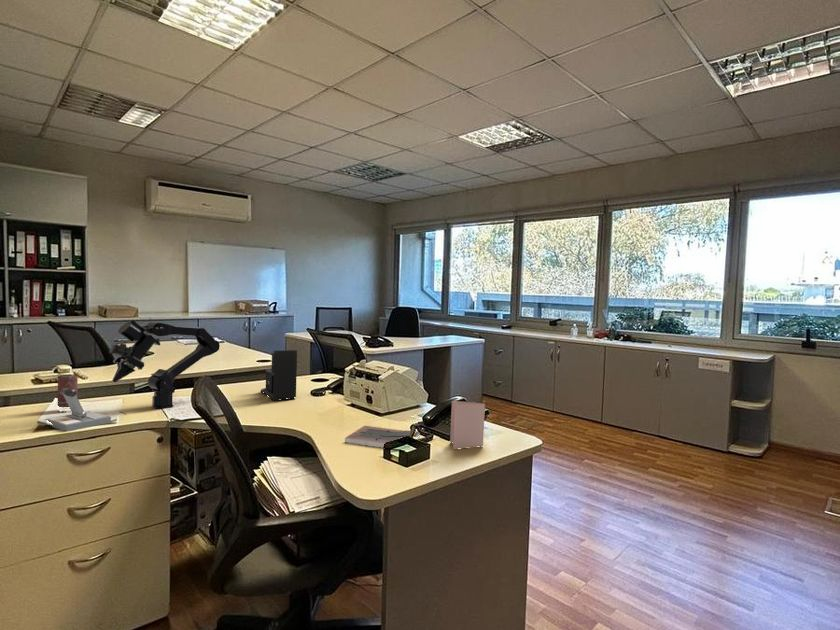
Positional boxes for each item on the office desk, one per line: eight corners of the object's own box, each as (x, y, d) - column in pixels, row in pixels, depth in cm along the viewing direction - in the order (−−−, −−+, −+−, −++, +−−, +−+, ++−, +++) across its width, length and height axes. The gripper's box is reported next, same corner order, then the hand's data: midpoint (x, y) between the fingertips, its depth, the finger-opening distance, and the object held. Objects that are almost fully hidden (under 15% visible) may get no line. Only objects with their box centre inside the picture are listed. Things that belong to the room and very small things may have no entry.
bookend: (260, 391, 227) (261, 345, 226) (281, 390, 233) (283, 344, 232) (273, 401, 208) (274, 350, 207) (296, 399, 213) (297, 350, 213)
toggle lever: (79, 413, 165) (66, 386, 161) (87, 415, 162) (74, 388, 158) (72, 416, 163) (59, 390, 159) (80, 419, 161) (67, 392, 156)
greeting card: (483, 446, 156) (485, 403, 156) (481, 453, 149) (483, 408, 148) (450, 442, 159) (452, 400, 158) (446, 449, 152) (448, 404, 151)
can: (81, 409, 181) (82, 374, 181) (67, 413, 175) (68, 377, 175) (67, 408, 182) (68, 373, 182) (53, 412, 176) (53, 376, 175)
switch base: (89, 416, 172) (89, 410, 172) (110, 422, 166) (110, 416, 166) (45, 424, 160) (45, 418, 159) (66, 431, 153) (66, 424, 153)
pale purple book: (419, 438, 164) (364, 431, 170) (419, 432, 164) (364, 424, 170) (404, 453, 148) (344, 444, 154) (405, 445, 148) (344, 437, 154)
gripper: (115, 337, 183) (86, 370, 176) (129, 335, 171) (100, 370, 163) (139, 353, 190) (113, 385, 182) (155, 351, 177) (128, 386, 169)
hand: (113, 381), depth 174 cm, fingers closed
